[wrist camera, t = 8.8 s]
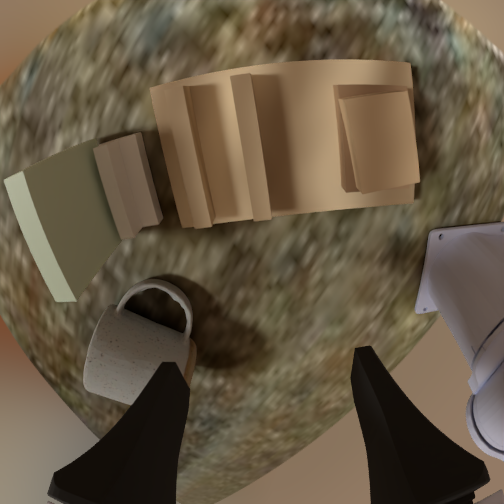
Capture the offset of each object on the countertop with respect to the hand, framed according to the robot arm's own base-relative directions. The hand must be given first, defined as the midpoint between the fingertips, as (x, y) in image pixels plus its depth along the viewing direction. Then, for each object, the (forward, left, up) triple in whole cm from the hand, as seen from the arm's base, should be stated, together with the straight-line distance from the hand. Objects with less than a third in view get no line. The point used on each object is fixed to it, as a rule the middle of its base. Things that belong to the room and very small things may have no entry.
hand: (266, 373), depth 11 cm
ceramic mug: (+11, +6, -11) cm, 16 cm away
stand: (+10, -6, -10) cm, 16 cm away
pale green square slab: (+10, -6, -9) cm, 15 cm away
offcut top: (-7, -7, -8) cm, 13 cm away
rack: (-2, -7, -10) cm, 13 cm away
